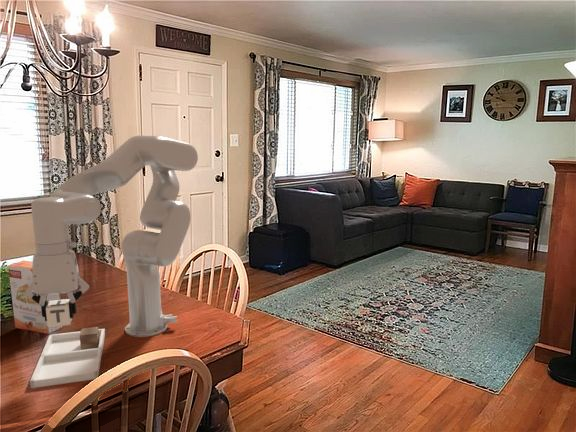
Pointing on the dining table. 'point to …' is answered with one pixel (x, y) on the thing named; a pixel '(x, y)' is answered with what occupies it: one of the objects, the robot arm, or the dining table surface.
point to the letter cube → (58, 313)
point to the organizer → (67, 360)
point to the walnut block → (89, 338)
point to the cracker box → (27, 300)
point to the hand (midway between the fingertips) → (59, 316)
